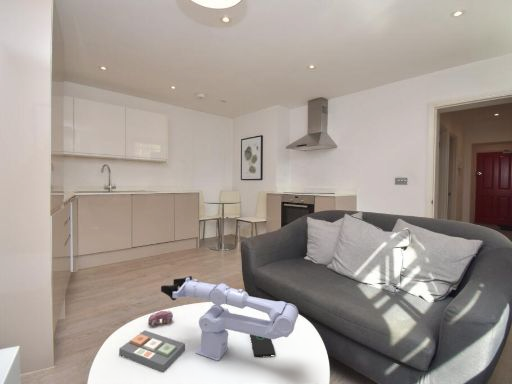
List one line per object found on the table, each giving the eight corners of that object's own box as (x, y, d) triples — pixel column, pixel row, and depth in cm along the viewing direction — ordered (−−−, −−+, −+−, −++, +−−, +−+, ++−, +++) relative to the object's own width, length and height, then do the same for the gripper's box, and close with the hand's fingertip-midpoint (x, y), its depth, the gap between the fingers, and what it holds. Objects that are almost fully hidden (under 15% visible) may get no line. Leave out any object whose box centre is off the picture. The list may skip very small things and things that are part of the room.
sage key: (175, 350, 94) (176, 346, 94) (167, 357, 90) (167, 353, 90) (165, 346, 95) (165, 342, 95) (157, 354, 91) (157, 349, 91)
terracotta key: (149, 340, 98) (149, 336, 98) (140, 348, 94) (140, 343, 94) (139, 337, 100) (140, 333, 99) (130, 344, 95) (130, 340, 95)
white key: (162, 345, 96) (162, 341, 96) (153, 352, 92) (153, 348, 92) (152, 342, 98) (152, 338, 97) (143, 349, 93) (143, 345, 93)
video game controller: (148, 329, 110) (149, 319, 107) (147, 320, 114) (148, 309, 111) (172, 325, 115) (174, 314, 112) (171, 315, 119) (173, 305, 115)
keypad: (184, 350, 97) (185, 343, 97) (163, 372, 86) (163, 364, 86) (144, 336, 104) (144, 329, 104) (119, 355, 92) (119, 347, 92)
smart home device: (266, 322, 116) (276, 353, 97) (265, 326, 117) (276, 357, 97) (247, 323, 115) (254, 354, 95) (247, 326, 115) (253, 358, 96)
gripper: (208, 273, 105) (179, 269, 110) (188, 286, 92) (155, 281, 96) (207, 291, 105) (178, 286, 110) (187, 306, 92) (155, 300, 96)
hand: (168, 285), depth 103 cm, fingers open, 7 cm apart
